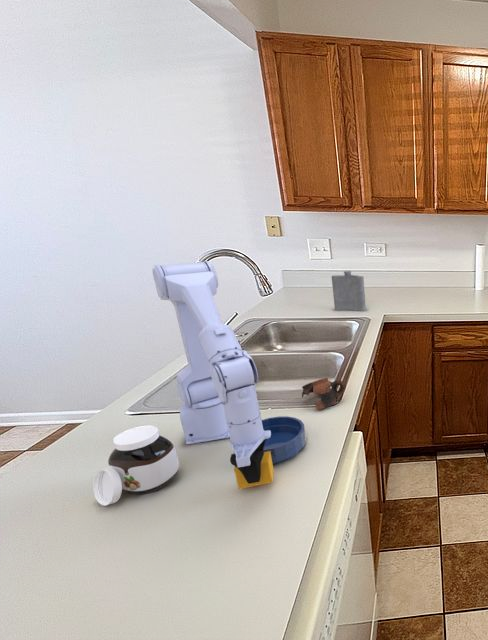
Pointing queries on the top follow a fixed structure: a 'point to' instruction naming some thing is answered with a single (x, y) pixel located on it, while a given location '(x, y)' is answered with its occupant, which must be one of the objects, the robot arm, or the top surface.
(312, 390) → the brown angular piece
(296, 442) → the bowl
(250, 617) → the top surface
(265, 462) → the sponge
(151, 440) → the spread jar
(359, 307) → the hip flask
